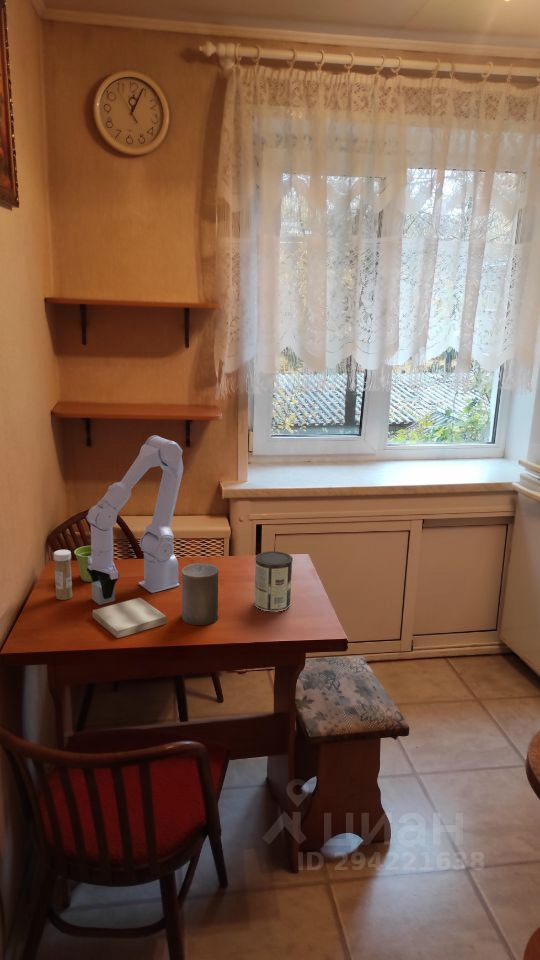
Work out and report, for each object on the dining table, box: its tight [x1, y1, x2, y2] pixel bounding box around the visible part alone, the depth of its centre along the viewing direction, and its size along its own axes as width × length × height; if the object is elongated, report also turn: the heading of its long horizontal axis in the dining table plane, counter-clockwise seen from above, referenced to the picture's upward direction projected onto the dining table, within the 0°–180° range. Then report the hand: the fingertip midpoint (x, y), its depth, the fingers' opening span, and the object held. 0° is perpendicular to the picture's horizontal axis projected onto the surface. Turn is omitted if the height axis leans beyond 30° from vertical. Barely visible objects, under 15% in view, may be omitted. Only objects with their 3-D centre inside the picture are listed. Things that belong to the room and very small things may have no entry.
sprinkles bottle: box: [53, 549, 74, 601], centre depth 189 cm, size 5×5×14 cm
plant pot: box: [73, 545, 92, 583], centre depth 203 cm, size 9×9×9 cm
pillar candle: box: [181, 562, 219, 626], centre depth 180 cm, size 10×10×15 cm
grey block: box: [91, 581, 116, 606], centre depth 189 cm, size 5×5×5 cm
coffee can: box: [253, 550, 294, 613], centre depth 189 cm, size 10×10×14 cm
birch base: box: [92, 597, 167, 639], centre depth 178 cm, size 14×14×2 cm
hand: (103, 594), depth 189 cm, fingers closed on grey block, 5 cm apart
